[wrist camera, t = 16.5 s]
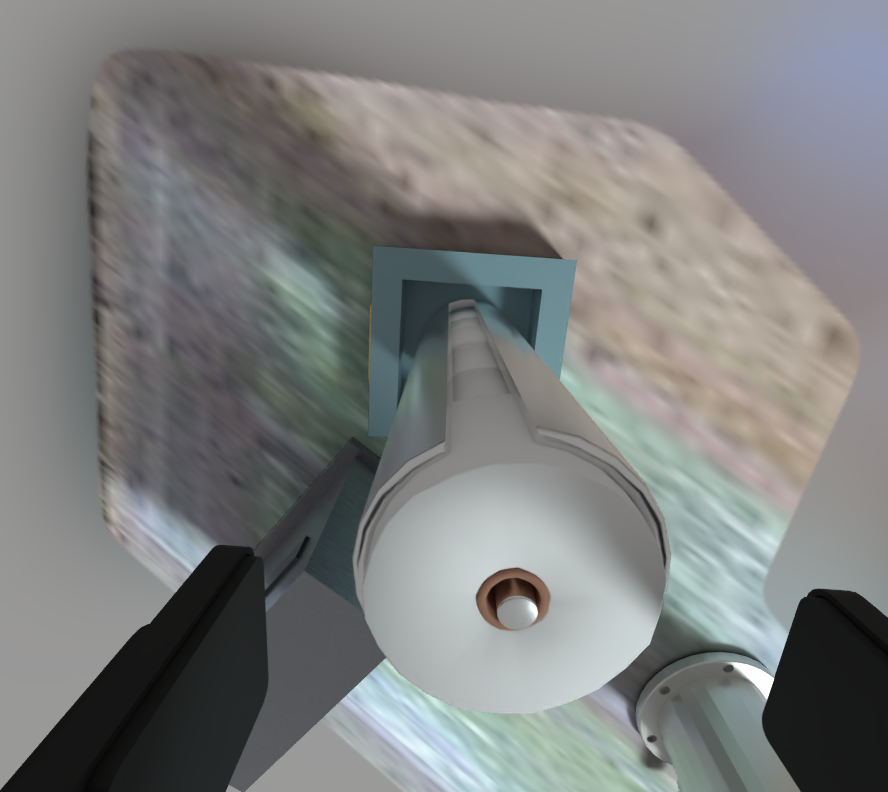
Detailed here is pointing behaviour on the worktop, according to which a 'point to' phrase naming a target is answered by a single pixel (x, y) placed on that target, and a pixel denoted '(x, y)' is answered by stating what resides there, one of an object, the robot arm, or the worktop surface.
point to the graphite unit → (312, 611)
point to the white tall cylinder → (504, 529)
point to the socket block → (447, 280)
